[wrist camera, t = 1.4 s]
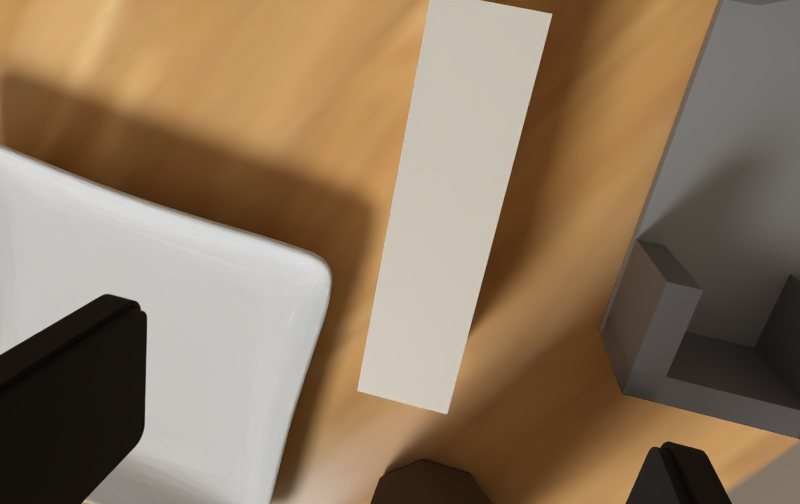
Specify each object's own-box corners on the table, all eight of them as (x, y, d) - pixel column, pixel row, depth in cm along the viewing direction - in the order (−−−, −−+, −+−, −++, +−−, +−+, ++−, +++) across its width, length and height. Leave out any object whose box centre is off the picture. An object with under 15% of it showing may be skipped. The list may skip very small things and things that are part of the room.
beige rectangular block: (447, 5, 24) (431, -9, 18) (540, 23, 23) (552, 13, 18) (384, 327, 29) (357, 390, 24) (457, 345, 29) (446, 414, 23)
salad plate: (273, 528, 36) (251, 573, 33) (-17, 416, 37) (-66, 450, 34) (356, 240, 28) (338, 264, 25) (-16, 111, 29) (-78, 117, 26)
